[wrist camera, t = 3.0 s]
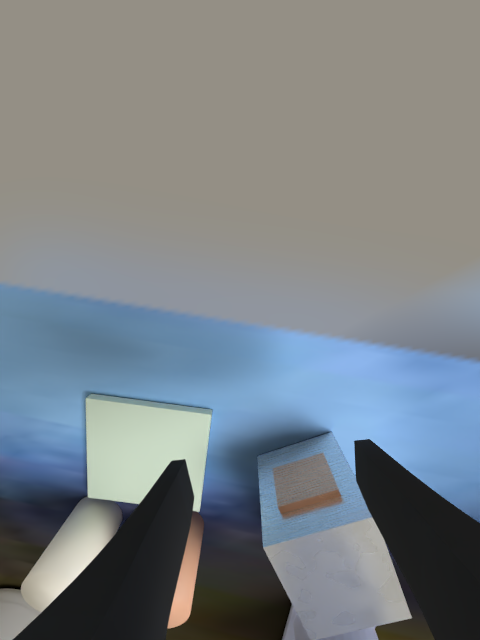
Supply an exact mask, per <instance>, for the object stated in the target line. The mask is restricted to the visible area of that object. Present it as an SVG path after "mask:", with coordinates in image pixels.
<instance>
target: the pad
mask: <svg viewBox="0 0 480 640" xmlns="http://www.w3.org/2000/svg"><path fill="white" fill-rule="evenodd" d="M211 417H212V410H211V409H203V408H196V407H188V406H181V405H173V404H166V403H158V402H151V401H143V400H135V399H128V398H120V397H113V396H105V395H98V394H90V395H89V396H88V397H86V435H87V479H88V498H96V499H104V500H111V501H119V502H127V503H135V504H140V502H141V501H142V500H143V499H144V497H145V496H146V495H147V493H148V492H149V491H150V489H151V488H152V487H153V485H154V484H155V482H156V481H157V480H158V478H159V477H160V476H161V474H162V473H163V471H164V470H165V469H166V467H167V466H168V465H169V463H170V462H171V461H173V460H182V459H185V460H186V464H187V468H188V472H189V476H190V481H191V485H192V489H193V493H194V504H193V511H198V512H199V511H200V506H201V498H202V490H203V482H204V474H205V466H206V458H207V450H208V442H209V433H210V425H211Z"/></svg>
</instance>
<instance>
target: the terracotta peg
mask: <svg viewBox="0 0 480 640" xmlns="http://www.w3.org/2000/svg"><path fill="white" fill-rule="evenodd" d="M203 530H204V522H203V519H202V517H201V516H200V514H199V513H198V512H196V511H193V512H192V519H191V526H190V530H189V535H188V539H187V544H186V548H185V552H184V556H183V561H182V565H181V569H180V573H179V577H178V582H177V586H176V590H175V594H174V599H173V603H172V607H171V612H170V617H169V622H168V627H167V628H173V627H177V626H179V625H181V624H183V623H184V622H185V621H186V620H187V619H188V618H189V616H190V613H191V607H192V600H193V594H194V587H195V581H196V575H197V568H198V562H199V555H200V549H201V542H202V536H203Z"/></svg>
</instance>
